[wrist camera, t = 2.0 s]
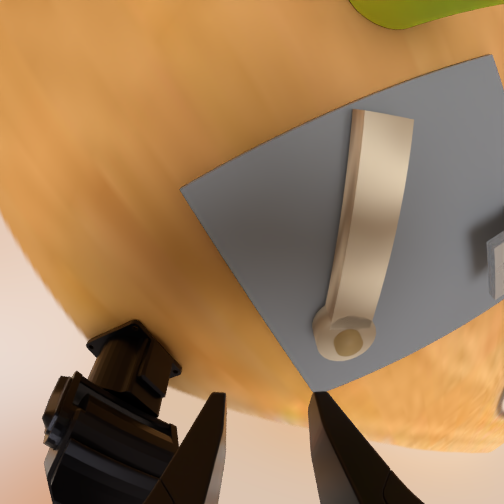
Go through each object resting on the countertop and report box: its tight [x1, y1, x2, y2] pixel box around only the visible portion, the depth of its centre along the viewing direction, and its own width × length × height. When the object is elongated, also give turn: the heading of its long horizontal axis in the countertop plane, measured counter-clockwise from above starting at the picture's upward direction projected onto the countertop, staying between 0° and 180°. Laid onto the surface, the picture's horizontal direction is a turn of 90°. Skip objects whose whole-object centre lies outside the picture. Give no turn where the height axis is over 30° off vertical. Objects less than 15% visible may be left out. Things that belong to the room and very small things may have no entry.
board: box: [180, 55, 504, 392], centre depth 21 cm, size 24×22×1 cm
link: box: [312, 109, 414, 361], centre depth 19 cm, size 17×4×3 cm, turn 178°
